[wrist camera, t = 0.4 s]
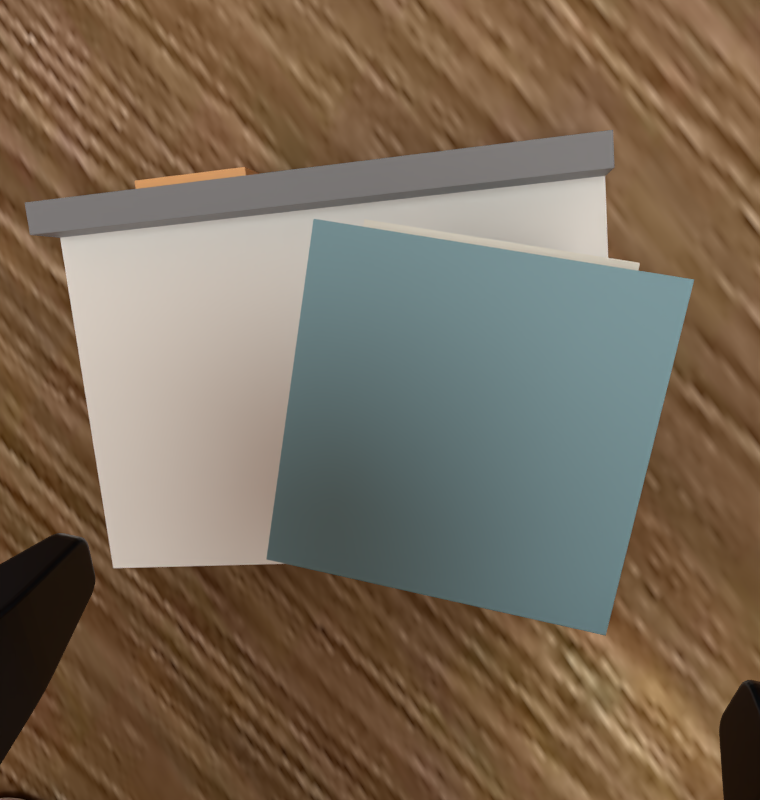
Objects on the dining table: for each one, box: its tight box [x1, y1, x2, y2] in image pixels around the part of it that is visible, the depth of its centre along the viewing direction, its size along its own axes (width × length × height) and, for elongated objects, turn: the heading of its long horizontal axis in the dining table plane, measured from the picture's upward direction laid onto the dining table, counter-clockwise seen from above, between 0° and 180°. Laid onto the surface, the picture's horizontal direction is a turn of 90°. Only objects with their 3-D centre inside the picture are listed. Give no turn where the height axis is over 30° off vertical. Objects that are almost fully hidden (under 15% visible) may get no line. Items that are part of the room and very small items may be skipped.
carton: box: [266, 219, 694, 635], centre depth 16 cm, size 5×5×13 cm
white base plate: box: [25, 130, 614, 568], centre depth 23 cm, size 13×18×3 cm
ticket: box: [135, 167, 259, 189], centre depth 22 cm, size 1×4×2 cm, turn 94°
